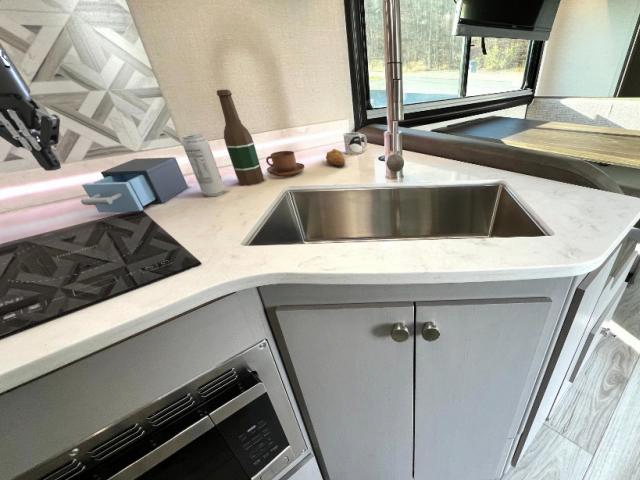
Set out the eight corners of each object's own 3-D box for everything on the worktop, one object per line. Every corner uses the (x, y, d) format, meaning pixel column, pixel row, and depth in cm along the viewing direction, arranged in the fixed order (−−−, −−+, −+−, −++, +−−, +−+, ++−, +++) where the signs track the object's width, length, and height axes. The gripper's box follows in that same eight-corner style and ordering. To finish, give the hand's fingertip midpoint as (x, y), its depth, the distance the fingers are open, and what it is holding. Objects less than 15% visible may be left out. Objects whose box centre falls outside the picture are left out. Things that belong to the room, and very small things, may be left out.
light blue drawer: (127, 219, 74) (110, 190, 70) (83, 220, 74) (64, 192, 70) (168, 194, 88) (156, 168, 84) (132, 195, 88) (118, 170, 84)
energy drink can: (231, 191, 91) (210, 133, 82) (214, 198, 87) (190, 138, 78) (215, 189, 93) (194, 132, 84) (198, 195, 89) (173, 137, 80)
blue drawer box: (162, 203, 85) (145, 170, 80) (119, 205, 85) (100, 172, 80) (188, 187, 96) (175, 157, 90) (150, 188, 96) (135, 158, 90)
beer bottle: (241, 179, 101) (211, 89, 86) (266, 177, 102) (241, 88, 87) (235, 186, 95) (202, 91, 80) (262, 184, 96) (234, 90, 81)
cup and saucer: (265, 180, 99) (260, 159, 95) (270, 170, 108) (265, 150, 105) (304, 177, 101) (300, 156, 97) (306, 167, 110) (302, 148, 106)
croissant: (321, 161, 116) (318, 146, 113) (338, 158, 118) (336, 144, 115) (333, 169, 106) (331, 153, 103) (352, 166, 109) (350, 151, 106)
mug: (351, 155, 122) (349, 136, 118) (342, 152, 126) (340, 134, 122) (372, 150, 127) (370, 132, 123) (362, 148, 131) (361, 130, 127)
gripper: (-85, 64, 50) (3, 176, 60) (-1, 60, 50) (71, 173, 60) (-34, 63, 56) (37, 166, 66) (40, 60, 56) (100, 163, 66)
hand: (53, 169), depth 63 cm, fingers closed
